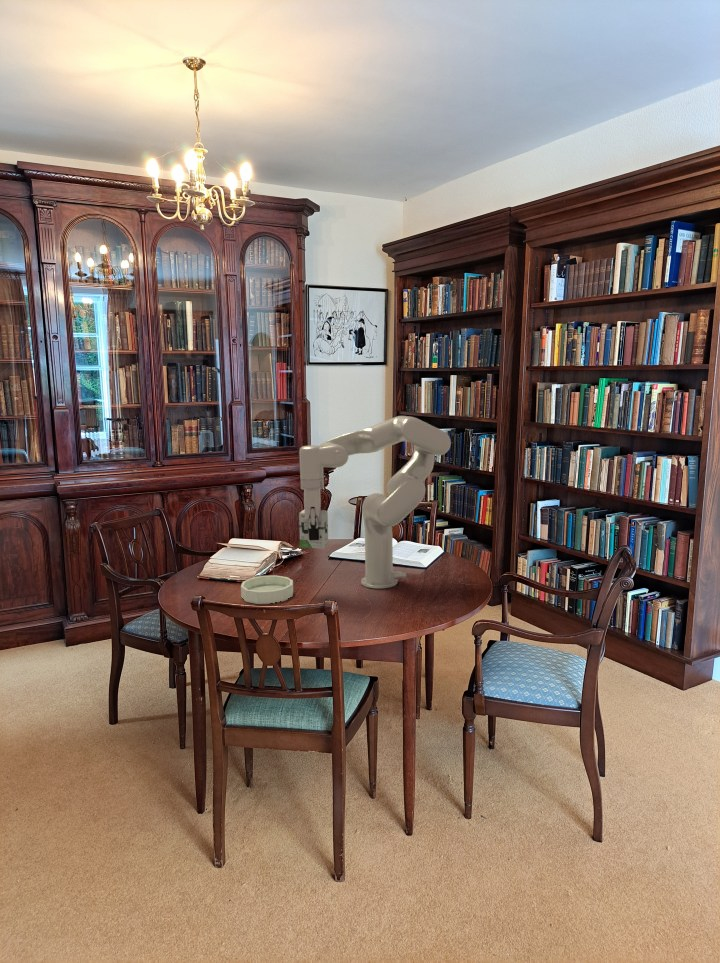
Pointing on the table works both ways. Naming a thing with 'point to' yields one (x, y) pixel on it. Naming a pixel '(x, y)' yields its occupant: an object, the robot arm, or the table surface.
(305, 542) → the ink box
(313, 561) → the table surface
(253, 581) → the dish
